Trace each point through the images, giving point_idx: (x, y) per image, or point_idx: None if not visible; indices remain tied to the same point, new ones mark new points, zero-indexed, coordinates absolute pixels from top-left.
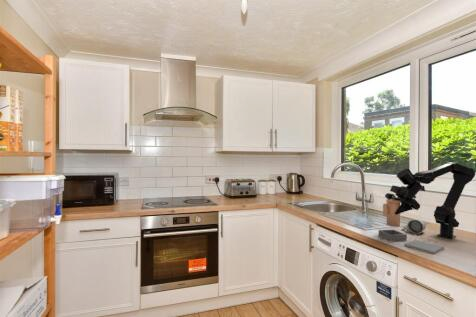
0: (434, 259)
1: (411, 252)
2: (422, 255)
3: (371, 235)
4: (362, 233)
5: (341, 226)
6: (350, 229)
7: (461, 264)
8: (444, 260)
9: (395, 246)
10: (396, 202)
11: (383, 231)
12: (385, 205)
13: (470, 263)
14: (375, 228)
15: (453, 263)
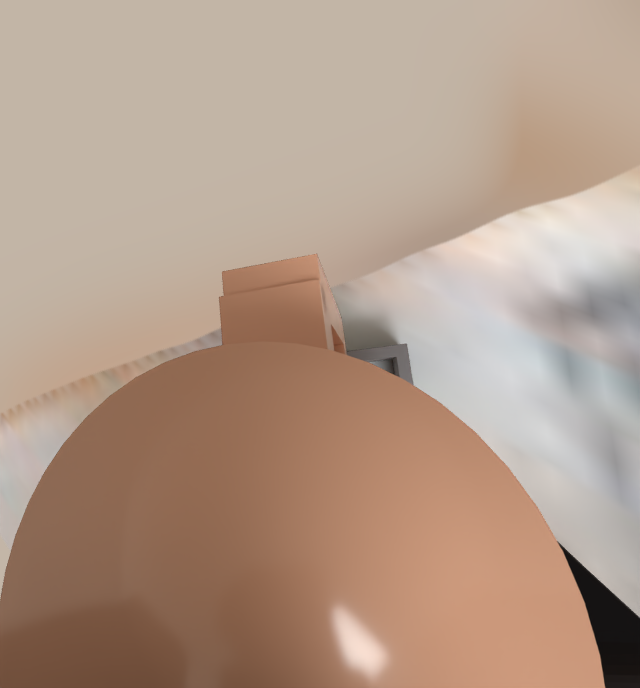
0: (58, 416)
1: (132, 367)
2: (98, 395)
3: (399, 300)
4: (441, 260)
5: (627, 171)
6: (540, 213)
7: (7, 493)
8: (46, 453)
9: (208, 338)
10: (48, 543)
11: (365, 358)
12: (233, 276)
13: (11, 546)
14: (602, 425)
15: (18, 466)
